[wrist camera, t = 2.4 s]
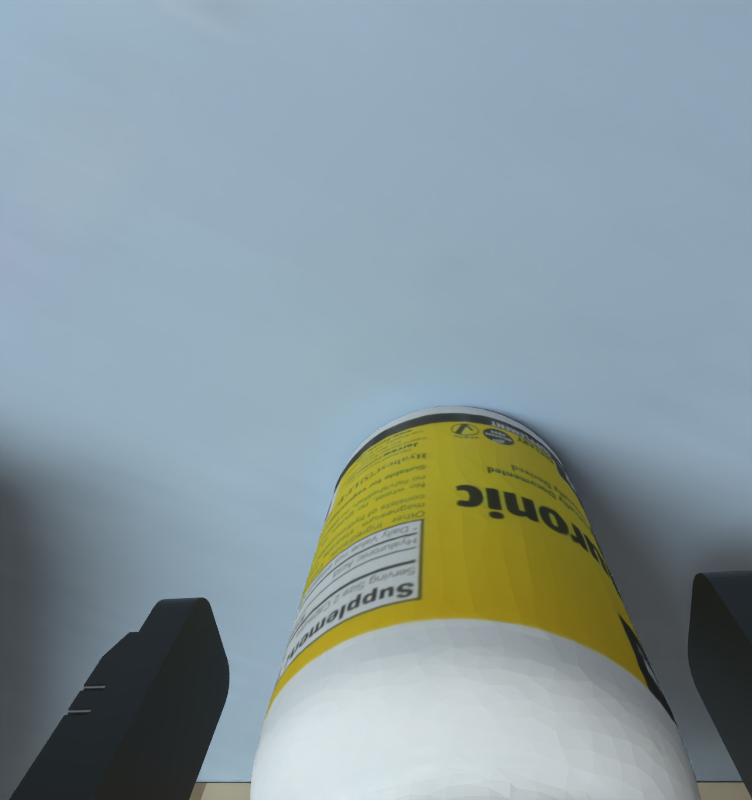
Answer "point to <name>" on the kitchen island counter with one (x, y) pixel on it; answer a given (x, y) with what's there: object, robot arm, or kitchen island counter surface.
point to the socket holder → (237, 795)
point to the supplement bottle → (464, 636)
